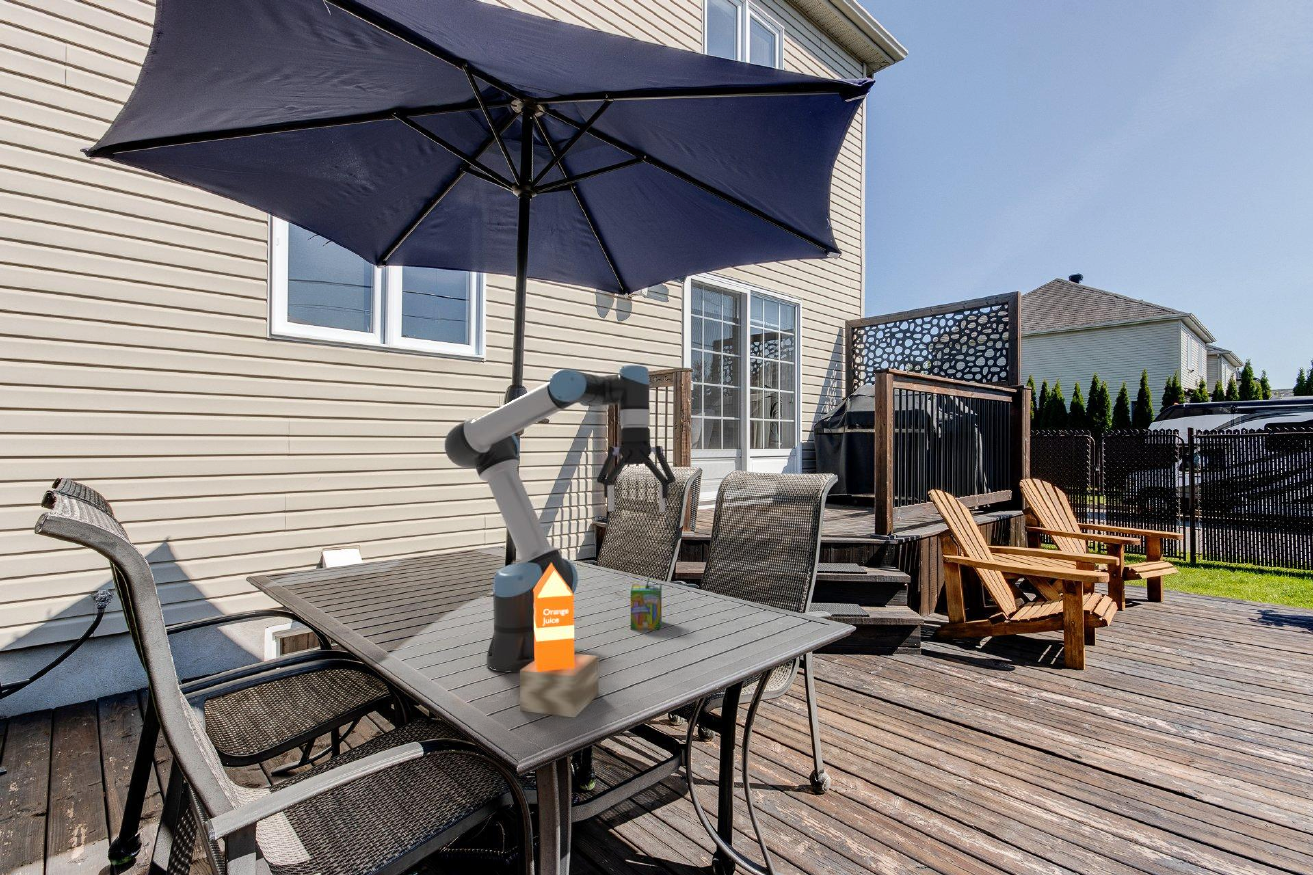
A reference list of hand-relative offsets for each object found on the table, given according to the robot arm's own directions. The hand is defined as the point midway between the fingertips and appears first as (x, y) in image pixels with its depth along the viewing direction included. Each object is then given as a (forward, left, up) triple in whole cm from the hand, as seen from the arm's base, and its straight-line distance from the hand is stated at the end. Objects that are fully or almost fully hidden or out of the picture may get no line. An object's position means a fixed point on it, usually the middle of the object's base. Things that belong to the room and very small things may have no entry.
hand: (636, 511), depth 150 cm
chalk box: (-7, +28, -37) cm, 47 cm away
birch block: (-7, -29, -37) cm, 47 cm away
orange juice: (-8, -29, -29) cm, 42 cm away
